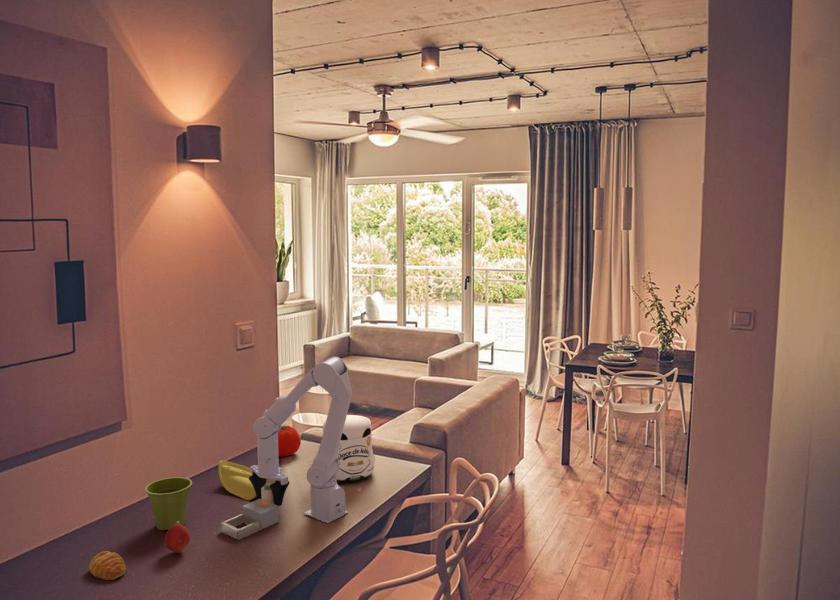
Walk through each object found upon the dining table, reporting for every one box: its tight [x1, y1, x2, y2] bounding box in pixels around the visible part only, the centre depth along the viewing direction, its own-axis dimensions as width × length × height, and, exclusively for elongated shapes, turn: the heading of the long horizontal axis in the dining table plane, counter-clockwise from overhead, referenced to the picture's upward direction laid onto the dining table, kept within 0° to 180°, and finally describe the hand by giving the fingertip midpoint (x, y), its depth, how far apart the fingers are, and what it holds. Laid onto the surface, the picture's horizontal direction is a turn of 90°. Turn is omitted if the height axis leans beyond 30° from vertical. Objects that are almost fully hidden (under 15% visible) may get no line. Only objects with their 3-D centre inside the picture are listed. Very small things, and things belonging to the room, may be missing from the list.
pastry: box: [88, 550, 127, 581], centre depth 147 cm, size 9×7×4 cm
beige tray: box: [219, 512, 261, 541], centre depth 167 cm, size 8×8×2 cm
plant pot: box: [144, 476, 193, 531], centre depth 170 cm, size 12×12×11 cm
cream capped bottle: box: [261, 483, 274, 504], centre depth 180 cm, size 4×4×7 cm
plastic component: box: [217, 460, 275, 501], centre depth 195 cm, size 20×7×10 cm
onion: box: [164, 521, 191, 554], centre depth 156 cm, size 6×6×8 cm
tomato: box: [278, 425, 302, 457], centre depth 223 cm, size 11×13×10 cm
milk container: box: [322, 414, 376, 483], centre depth 204 cm, size 17×17×18 cm
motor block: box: [241, 499, 280, 529], centre depth 172 cm, size 8×6×5 cm
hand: (269, 502), depth 181 cm, fingers open, 7 cm apart
